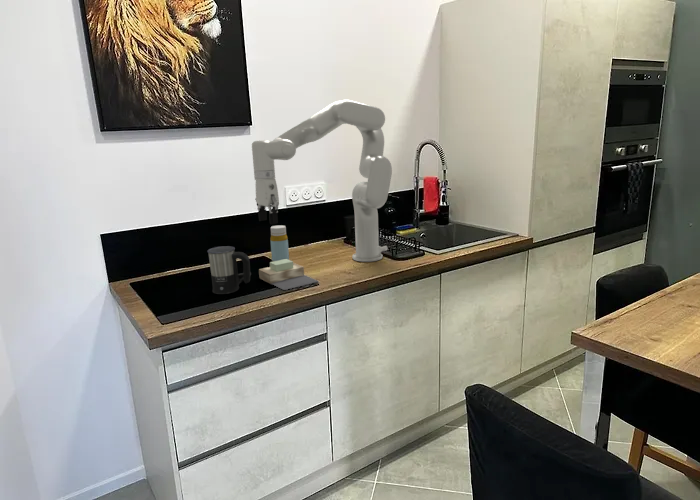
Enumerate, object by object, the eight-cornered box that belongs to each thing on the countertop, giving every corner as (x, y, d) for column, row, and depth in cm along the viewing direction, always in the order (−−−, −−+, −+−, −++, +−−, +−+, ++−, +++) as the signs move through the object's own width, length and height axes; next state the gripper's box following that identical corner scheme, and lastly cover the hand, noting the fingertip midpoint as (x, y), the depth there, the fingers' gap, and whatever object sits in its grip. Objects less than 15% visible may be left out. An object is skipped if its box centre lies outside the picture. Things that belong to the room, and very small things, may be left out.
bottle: (269, 263, 198) (266, 228, 194) (277, 259, 204) (275, 224, 201) (283, 265, 195) (281, 229, 192) (292, 260, 202) (289, 225, 198)
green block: (286, 265, 183) (286, 258, 182) (293, 267, 179) (293, 261, 178) (270, 268, 179) (269, 262, 178) (276, 271, 175) (276, 265, 174)
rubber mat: (304, 276, 180) (304, 275, 180) (318, 282, 173) (318, 281, 172) (271, 284, 172) (270, 283, 172) (284, 290, 165) (284, 289, 165)
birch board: (292, 270, 187) (291, 262, 187) (304, 275, 180) (303, 266, 180) (259, 278, 180) (258, 269, 179) (270, 284, 172) (269, 274, 172)
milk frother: (211, 296, 162) (206, 253, 159) (211, 282, 177) (207, 243, 173) (254, 291, 166) (250, 249, 162) (251, 277, 181) (247, 239, 177)
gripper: (285, 175, 172) (288, 223, 176) (263, 172, 185) (266, 217, 190) (266, 177, 167) (270, 226, 172) (245, 174, 181) (249, 220, 185)
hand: (268, 221), depth 181 cm, fingers open, 8 cm apart
